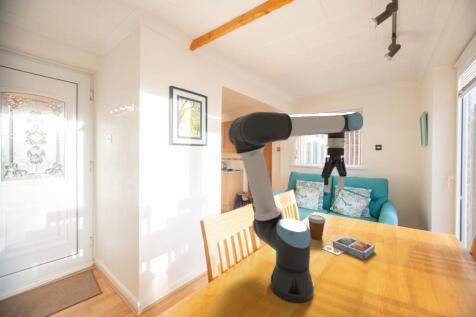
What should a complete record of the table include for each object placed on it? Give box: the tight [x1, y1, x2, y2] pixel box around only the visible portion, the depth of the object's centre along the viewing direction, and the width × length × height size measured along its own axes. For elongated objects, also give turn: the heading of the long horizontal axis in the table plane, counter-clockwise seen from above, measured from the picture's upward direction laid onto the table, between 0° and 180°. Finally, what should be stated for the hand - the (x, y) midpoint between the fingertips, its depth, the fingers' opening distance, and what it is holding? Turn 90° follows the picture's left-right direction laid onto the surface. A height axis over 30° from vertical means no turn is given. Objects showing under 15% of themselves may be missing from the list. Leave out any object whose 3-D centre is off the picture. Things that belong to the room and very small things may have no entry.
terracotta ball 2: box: [356, 239, 367, 251], centre depth 102 cm, size 5×5×5 cm
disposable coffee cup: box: [307, 214, 326, 241], centre depth 116 cm, size 10×10×12 cm
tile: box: [321, 245, 345, 256], centre depth 101 cm, size 6×8×1 cm
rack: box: [332, 235, 375, 260], centre depth 103 cm, size 13×15×3 cm
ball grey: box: [341, 236, 352, 246], centre depth 106 cm, size 5×5×5 cm
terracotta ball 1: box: [352, 243, 364, 252], centre depth 98 cm, size 5×5×5 cm
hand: (334, 190), depth 99 cm, fingers open, 13 cm apart
